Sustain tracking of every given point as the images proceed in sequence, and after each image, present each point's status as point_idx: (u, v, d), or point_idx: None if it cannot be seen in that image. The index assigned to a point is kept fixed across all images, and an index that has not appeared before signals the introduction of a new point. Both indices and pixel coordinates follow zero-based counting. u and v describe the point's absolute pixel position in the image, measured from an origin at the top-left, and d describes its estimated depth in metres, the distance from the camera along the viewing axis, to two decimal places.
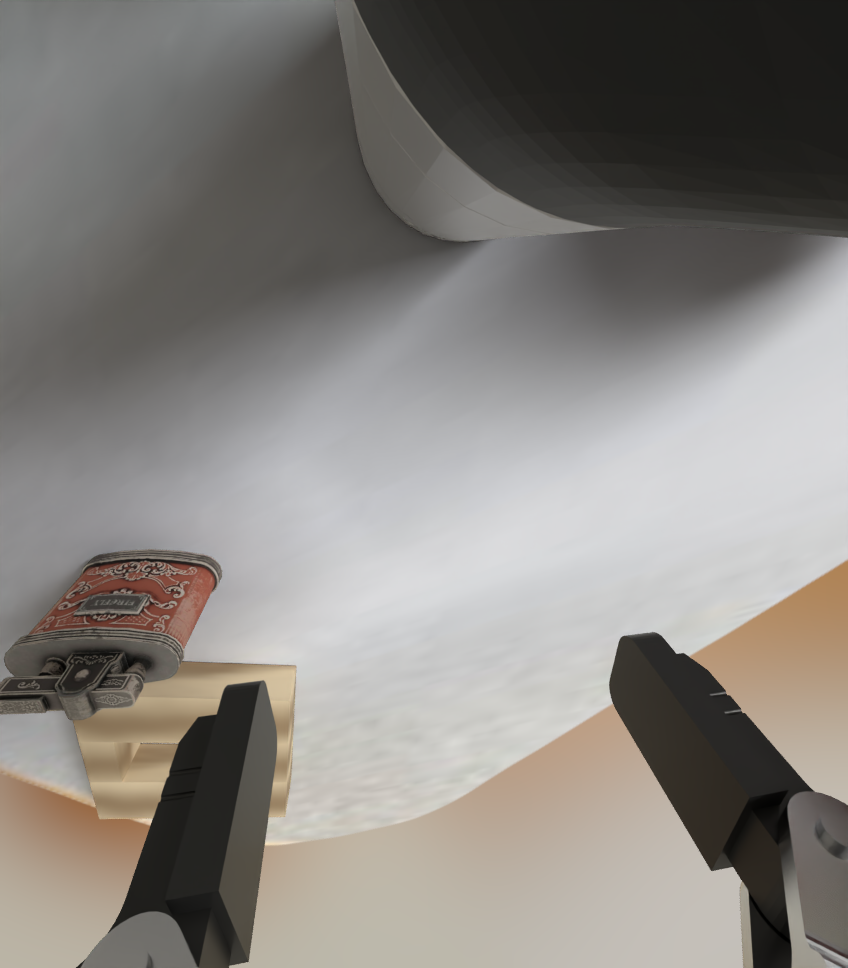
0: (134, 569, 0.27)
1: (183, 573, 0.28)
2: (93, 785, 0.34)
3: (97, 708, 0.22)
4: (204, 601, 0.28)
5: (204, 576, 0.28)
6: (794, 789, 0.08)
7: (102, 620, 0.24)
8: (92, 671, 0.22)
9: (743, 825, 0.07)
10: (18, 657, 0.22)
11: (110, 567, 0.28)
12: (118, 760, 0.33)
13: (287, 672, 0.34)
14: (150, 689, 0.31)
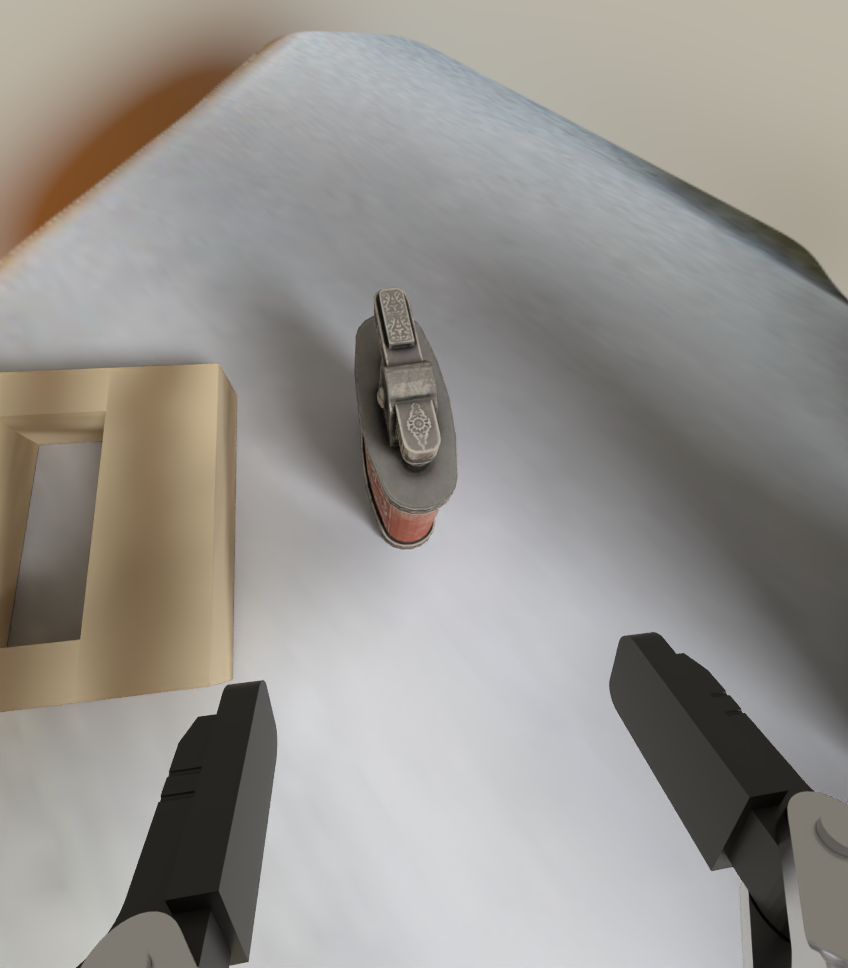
0: None
1: None
2: None
3: (394, 405, 0.15)
4: (414, 532, 0.20)
5: (428, 529, 0.22)
6: (794, 789, 0.08)
7: None
8: None
9: (743, 825, 0.07)
10: None
11: None
12: (52, 415, 0.20)
13: (228, 667, 0.20)
14: (220, 464, 0.21)
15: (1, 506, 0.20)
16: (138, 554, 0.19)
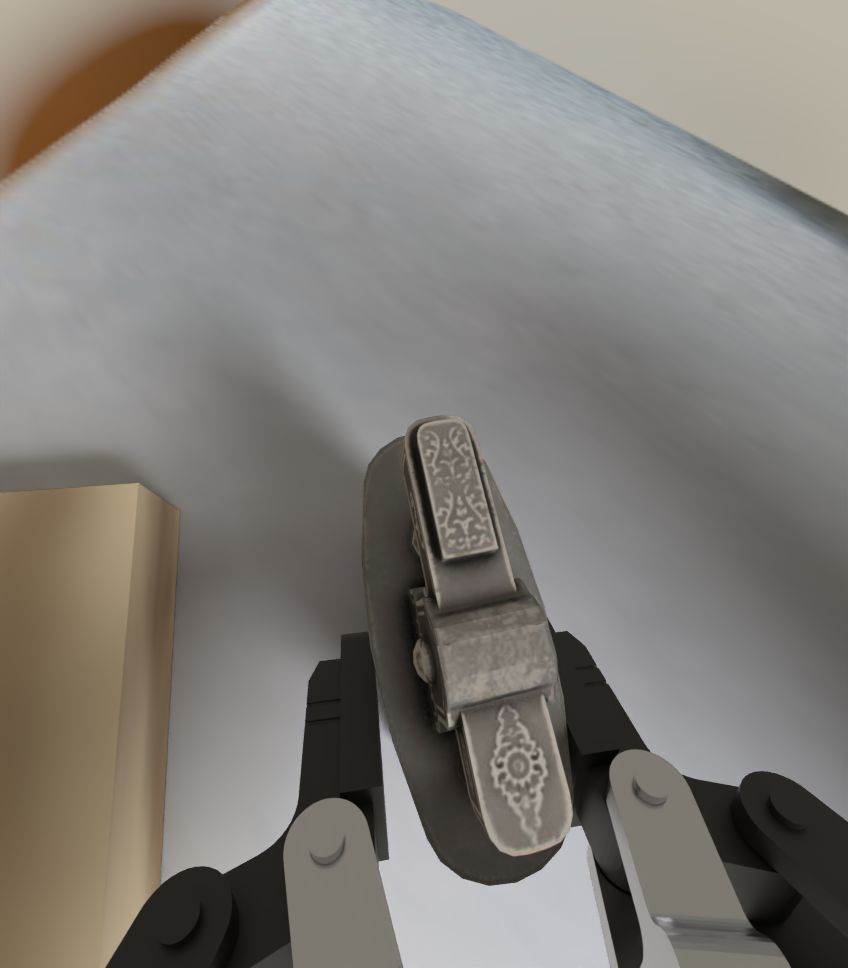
0: None
1: None
2: None
3: (459, 714, 0.06)
4: None
5: None
6: (632, 750, 0.08)
7: None
8: None
9: (583, 782, 0.08)
10: None
11: None
12: None
13: None
14: (135, 659, 0.12)
15: None
16: None
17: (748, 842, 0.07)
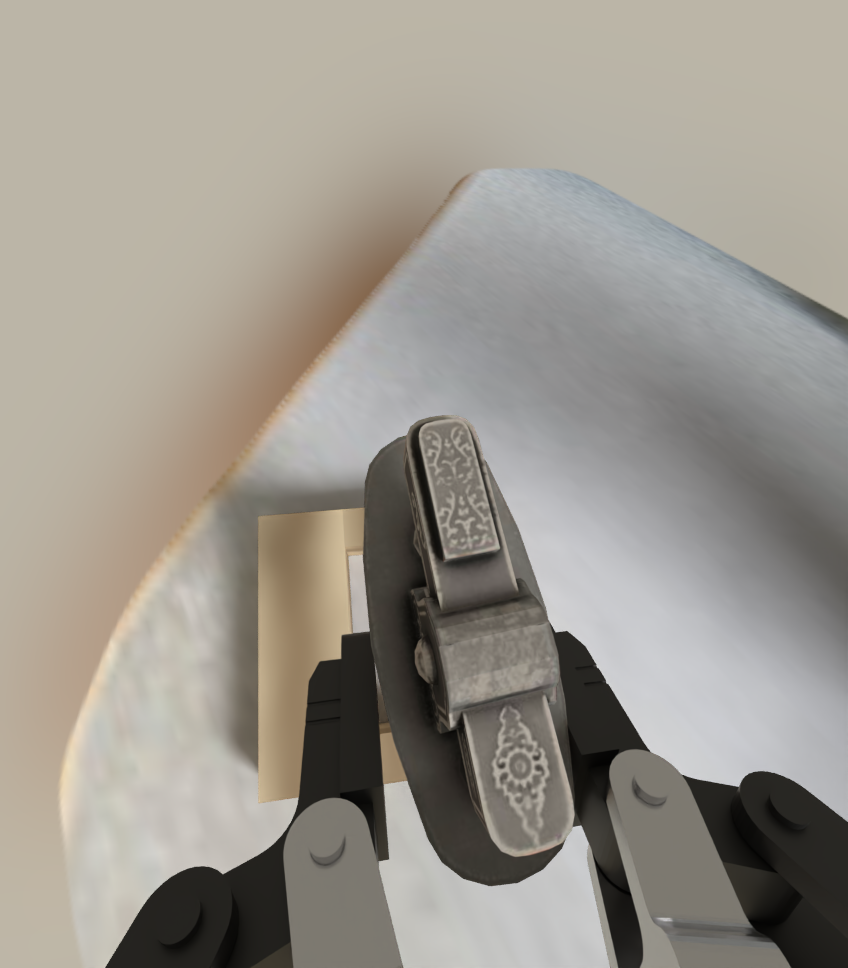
0: None
1: None
2: (335, 513, 0.27)
3: (461, 714, 0.06)
4: None
5: None
6: (632, 750, 0.08)
7: None
8: None
9: (582, 782, 0.08)
10: None
11: None
12: None
13: None
14: None
15: (350, 614, 0.26)
16: None
17: (748, 842, 0.07)
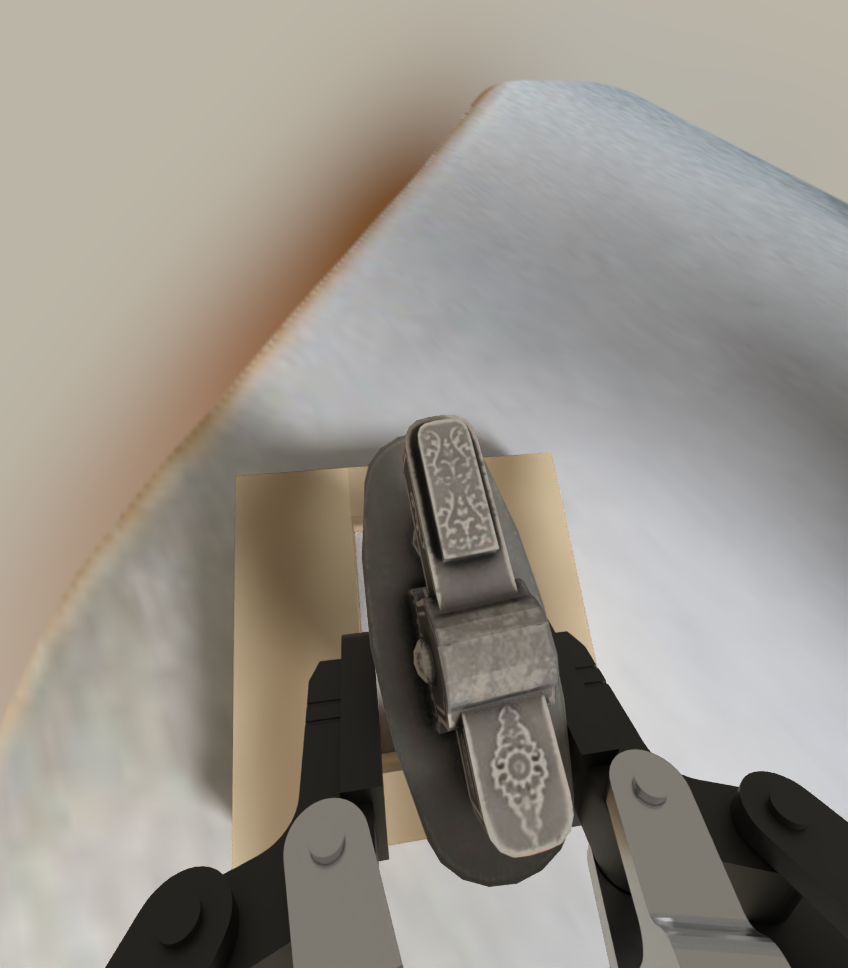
0: None
1: None
2: (339, 472, 0.20)
3: (460, 714, 0.06)
4: None
5: None
6: (632, 750, 0.08)
7: None
8: None
9: (583, 782, 0.08)
10: None
11: None
12: None
13: None
14: None
15: (358, 606, 0.20)
16: None
17: (748, 842, 0.07)
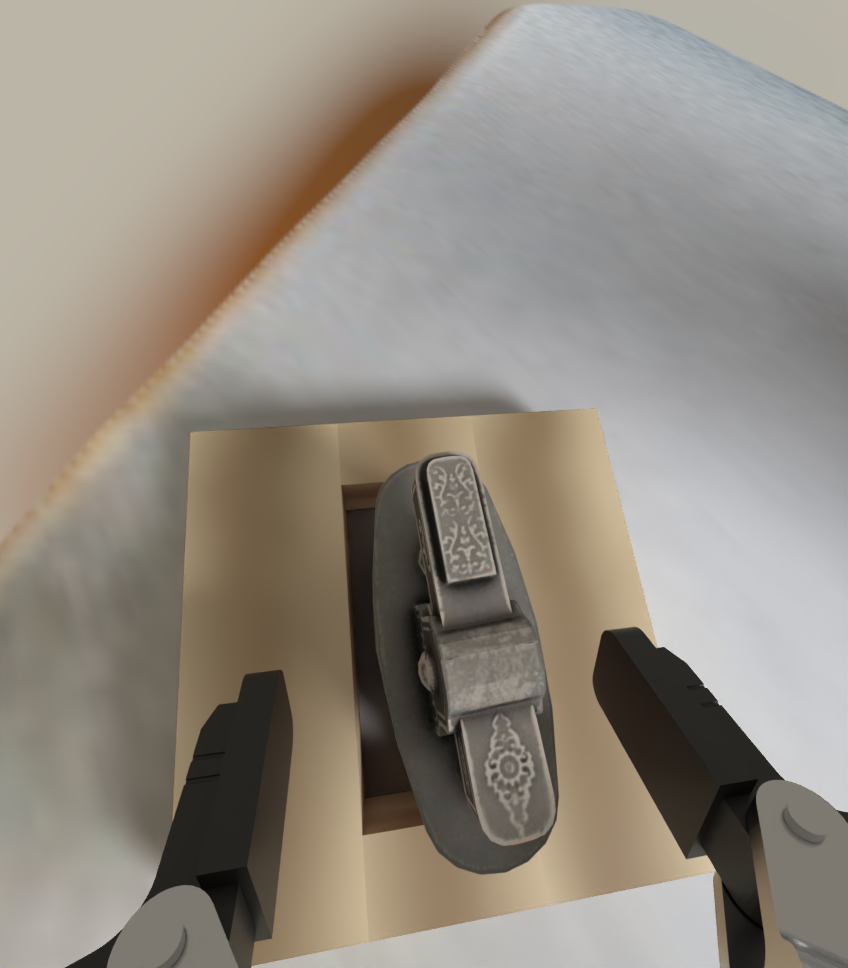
0: None
1: None
2: (326, 429, 0.15)
3: (458, 721, 0.07)
4: None
5: None
6: (765, 778, 0.08)
7: None
8: None
9: (715, 813, 0.08)
10: None
11: None
12: None
13: None
14: None
15: (350, 602, 0.15)
16: (572, 676, 0.14)
17: None
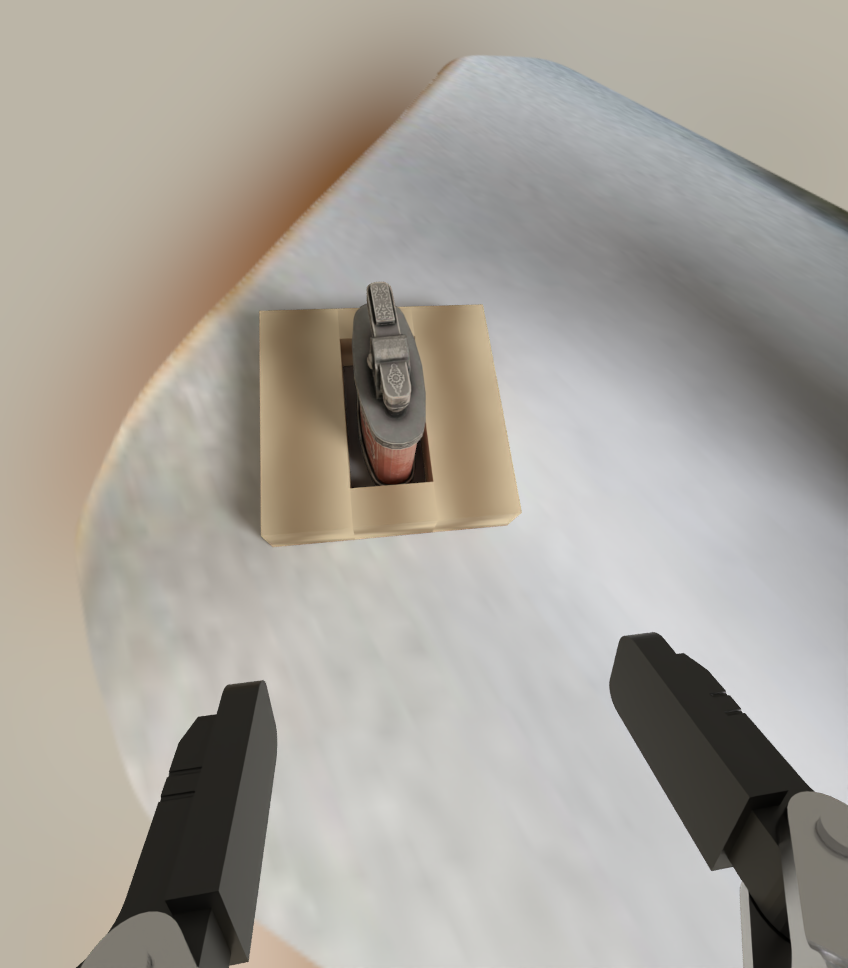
0: None
1: None
2: (331, 311, 0.29)
3: (379, 364, 0.20)
4: (396, 473, 0.26)
5: (408, 474, 0.27)
6: (794, 789, 0.08)
7: None
8: None
9: (743, 825, 0.07)
10: None
11: None
12: None
13: None
14: None
15: None
16: (457, 429, 0.27)
17: None
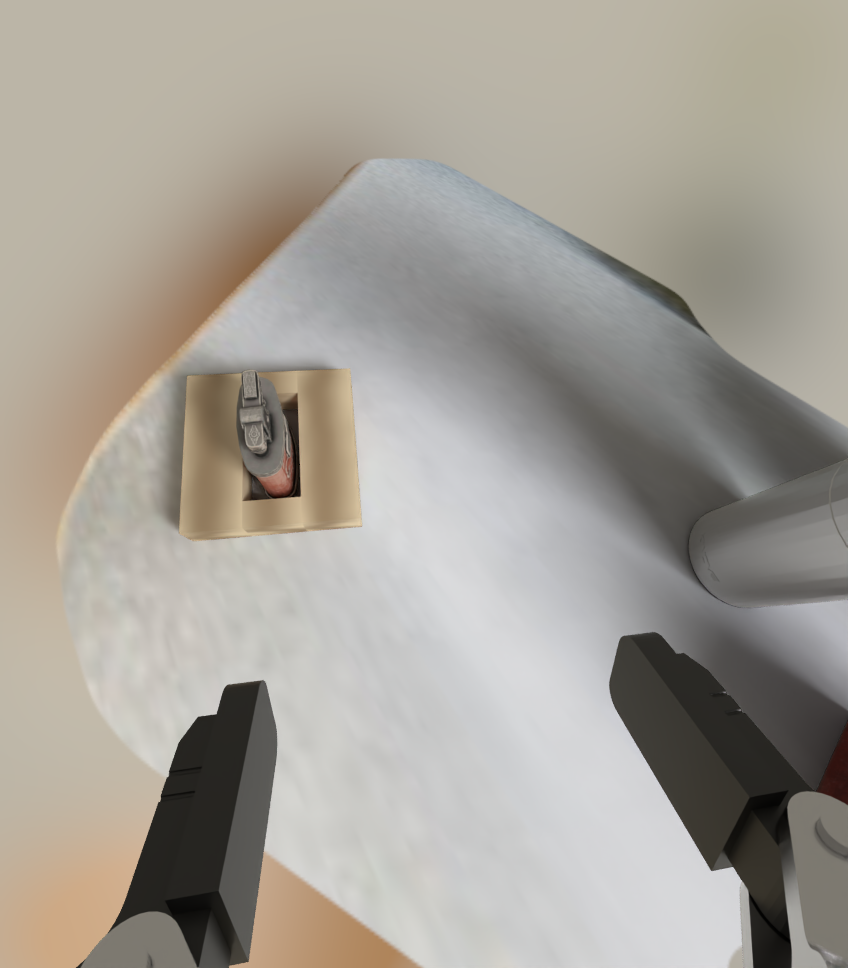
0: (292, 447, 0.40)
1: (292, 477, 0.39)
2: (238, 375, 0.41)
3: (244, 425, 0.32)
4: (276, 490, 0.38)
5: (288, 490, 0.39)
6: (794, 789, 0.08)
7: None
8: (267, 424, 0.33)
9: (743, 825, 0.07)
10: (264, 384, 0.36)
11: (290, 433, 0.41)
12: None
13: None
14: None
15: None
16: (322, 460, 0.39)
17: None
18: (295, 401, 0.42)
